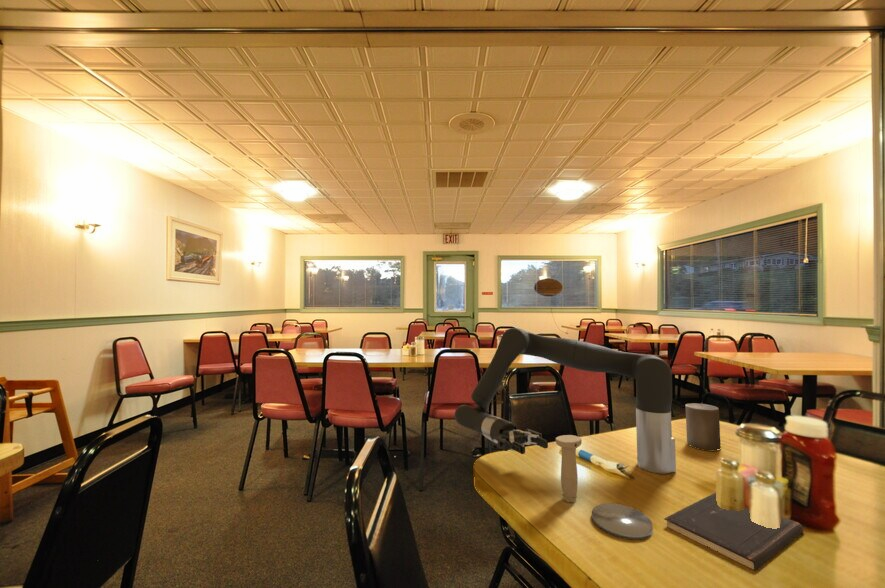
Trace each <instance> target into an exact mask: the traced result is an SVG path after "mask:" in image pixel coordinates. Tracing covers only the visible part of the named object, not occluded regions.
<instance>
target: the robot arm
mask: <svg viewBox="0 0 885 588" xmlns="http://www.w3.org/2000/svg"><path fill="white" fill-rule="evenodd" d="M519 355H523V356H525V355H526V356H533V357H536V358H537V357H538V358H542V359H546V360H548V361H551V362H553V363H555V364H558V365H562V366H564V367H567V368H572V369H576V370H580V371H583V372H584V371H586V372H593V373H606V374H609V373H610V374H617V375H621V376H624V377H629V378H632V379H634V380H635V382H636V397H635V420H636V421H635V423H636V427H635V428H636V429H635V430H636V431H635V432H636V460H637V463H636V464H637V466H638V467H639V468H641V469H642V470H645V471H646V472H650V473H653V474H663V475H665V474H670V473H676V472H677V459H676V438H675V437H673V433H672V402H673V374H672V370H671V367H670V365H669V364H668V362H666V361H665V360H664V359H662V358H661V357H659V356H657V355H653V354H644V353H633V352H626V351H625V352H624V351H621V350H616V349H612V348H609V347H607V346H603V345H599V344H595V343H591V342H587V341H582V340H577V339H573V338H571V339H570V338H565V337H564V338H563V337H549V336H543V335H540V334H537V333H533V332H530V331H527V330H524V329H522V328H517V327H511V328H509V329H506V330H505V331H504V332H503V333H502V335H501V337H500V340H499V342H498V345H497V348H496V351H495V353H494V354H493V357H492V358H491V362H490V363H489V365H488V366H487V368H486V370H485V371H484V372H483V374H482V376H481V377H480V379H479V381H478V383H477V384H476V386H475V387H474V389H473V390H472V392H471V396H470V397H471V400H472V401H473V402H474V403H475V407H473V406H470V405H468V404H461V405H458V407H457V408H456V409H455V412H454V419H455V421H456V423H457V424H458V425H459V426H461V427H464V428H467V429H468V430H469V429H470V430H471V431H475V432H476V433H478V434H479V435H482V436H484V437H485V438H486V439H488V440H489V441H491V442H493V445H494V446H495V447H497V448H499V449H501V450H502V451H504V452H508V450H510V452H511V451H512V452H513V451H515V452H517V453H519V454H521V455H525V453H526V446H530V445H536V446H539V447H540V448H542V449H548V448H549V441H548V440H547V439H545V438H543V435H542V433H540V432H538V431H536V430H532V429H530V428H525V430H521V429H518V428H517V426H516V425H515V423H513V422H511V421H509V420H506V419H504V418H502V417H499V416H496V415H492V414H489V413H488V410H489V407H490V403H492V401H493V399H494V397H495V395H496V394H497V392H498V391H499V388H500V386H501V384H502V382H503V380H504V378H505V375H506V374H507V372H508V370H509V368H510V366H511V365H512V364H513V363H514V362H515V360H516V359H517V358H518V356H519ZM526 438H527V440H526ZM525 445H526V446H525Z"/></svg>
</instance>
